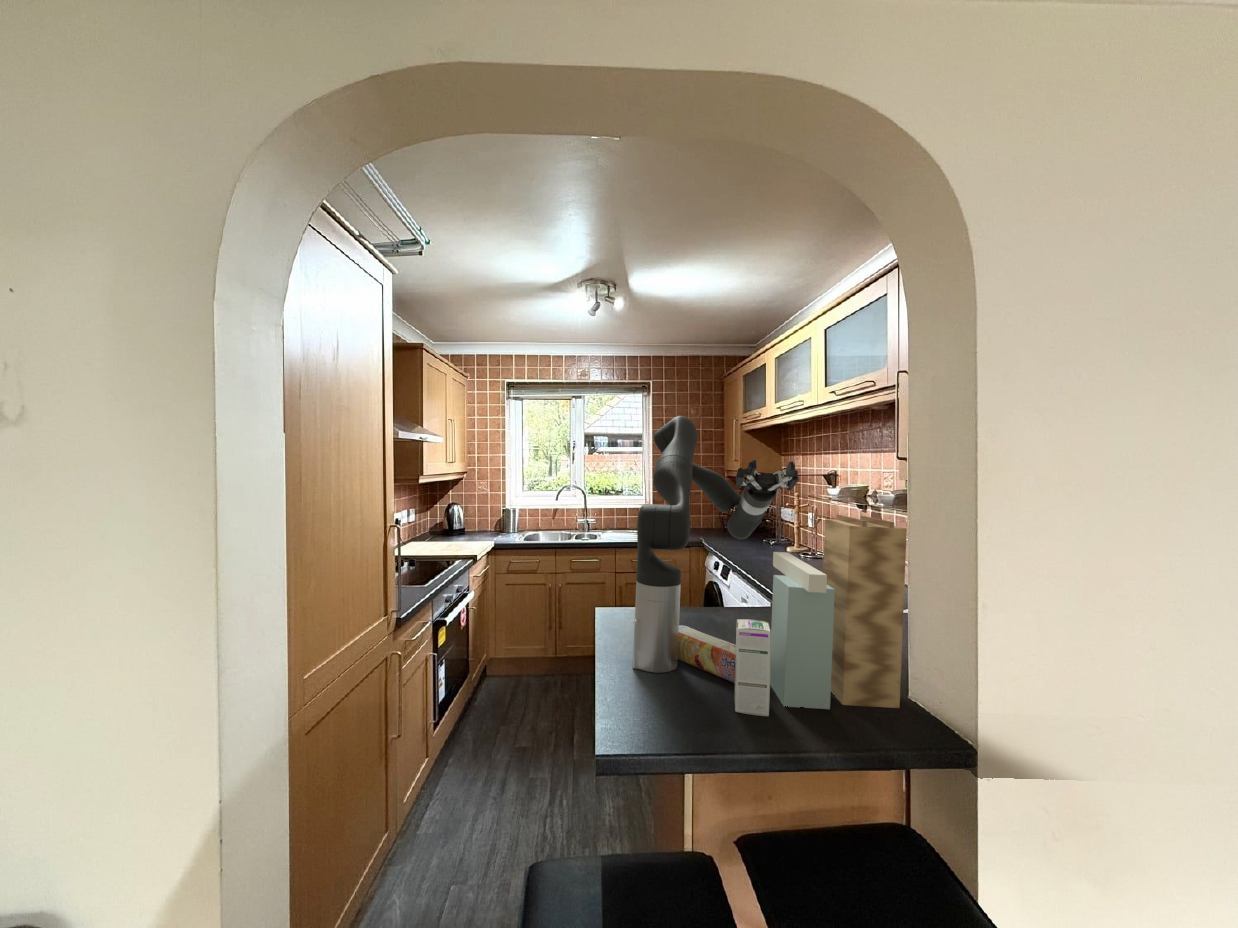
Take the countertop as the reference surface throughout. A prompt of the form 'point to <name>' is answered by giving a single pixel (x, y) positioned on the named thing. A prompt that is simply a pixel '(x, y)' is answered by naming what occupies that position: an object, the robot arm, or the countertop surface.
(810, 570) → the bar
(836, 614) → the tall wood-grain block
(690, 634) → the snack package
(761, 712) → the syrup box
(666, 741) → the countertop surface
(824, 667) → the post
